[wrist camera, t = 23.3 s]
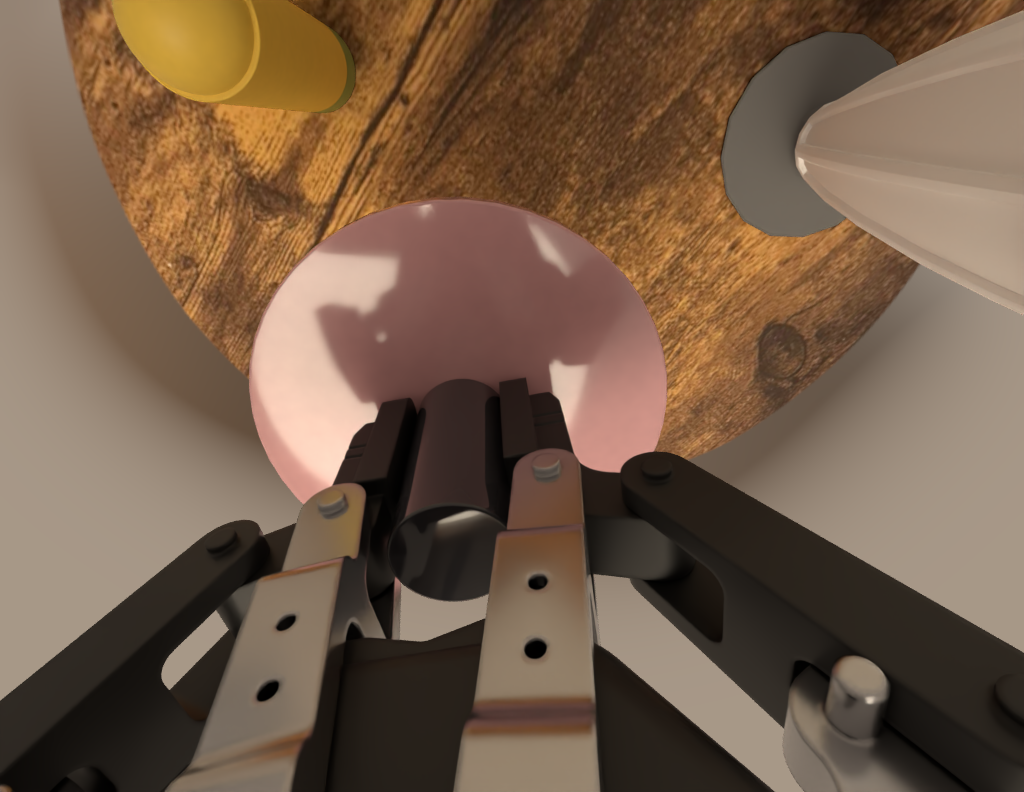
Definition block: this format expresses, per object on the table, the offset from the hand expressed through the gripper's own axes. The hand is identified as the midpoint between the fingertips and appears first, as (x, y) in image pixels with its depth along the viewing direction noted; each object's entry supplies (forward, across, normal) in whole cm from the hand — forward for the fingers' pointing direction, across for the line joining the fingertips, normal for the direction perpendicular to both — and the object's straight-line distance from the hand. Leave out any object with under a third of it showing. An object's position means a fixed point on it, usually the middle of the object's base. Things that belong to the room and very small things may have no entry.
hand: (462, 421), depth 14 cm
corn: (+23, +7, -11) cm, 26 cm away
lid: (+1, 0, 0) cm, 1 cm away
